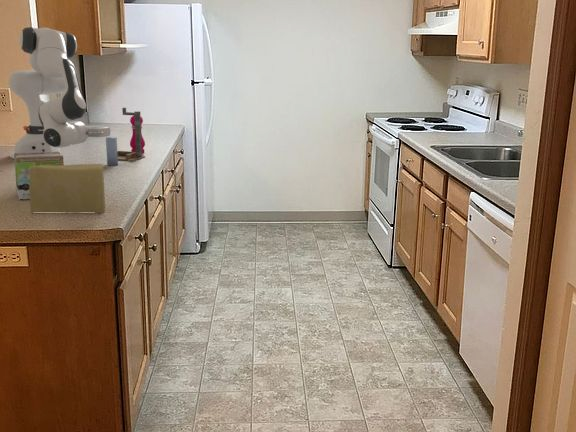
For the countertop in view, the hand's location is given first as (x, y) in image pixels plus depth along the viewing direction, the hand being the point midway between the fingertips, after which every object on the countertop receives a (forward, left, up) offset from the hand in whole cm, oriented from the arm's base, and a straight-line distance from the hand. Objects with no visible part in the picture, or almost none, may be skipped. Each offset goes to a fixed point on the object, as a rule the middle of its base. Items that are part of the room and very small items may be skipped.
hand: (95, 128), depth 254 cm
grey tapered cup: (+9, +8, -17) cm, 21 cm away
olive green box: (-30, -61, -18) cm, 70 cm away
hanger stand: (+20, +20, -17) cm, 33 cm away
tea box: (-32, -35, -18) cm, 50 cm away
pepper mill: (+30, +31, -18) cm, 47 cm away
